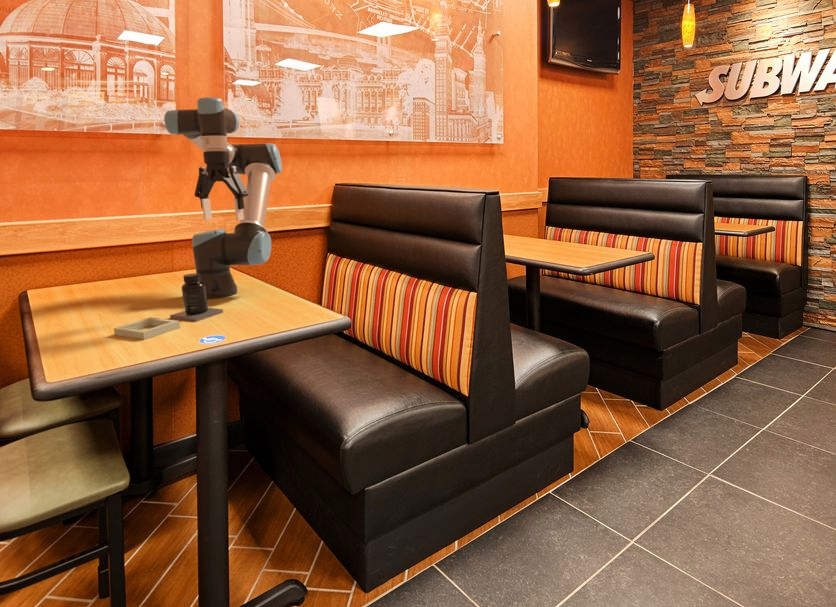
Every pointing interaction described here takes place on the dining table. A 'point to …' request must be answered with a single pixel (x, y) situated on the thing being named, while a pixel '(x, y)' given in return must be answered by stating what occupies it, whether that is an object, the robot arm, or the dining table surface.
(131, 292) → the dining table surface
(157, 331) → the frame
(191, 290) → the supplement bottle
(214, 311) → the slate coaster
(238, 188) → the robot arm
